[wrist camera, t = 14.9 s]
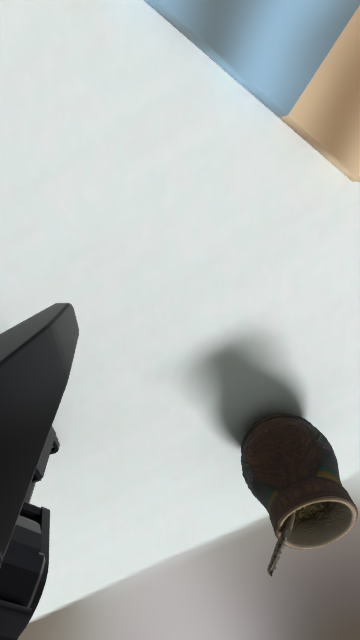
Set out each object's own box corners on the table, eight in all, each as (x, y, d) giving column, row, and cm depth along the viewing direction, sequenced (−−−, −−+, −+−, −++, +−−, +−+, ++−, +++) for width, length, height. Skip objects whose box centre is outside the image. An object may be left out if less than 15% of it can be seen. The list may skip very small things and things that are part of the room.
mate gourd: (320, 446, 30) (397, 570, 21) (242, 474, 30) (284, 606, 21) (306, 389, 27) (389, 506, 18) (218, 421, 27) (256, 550, 18)
